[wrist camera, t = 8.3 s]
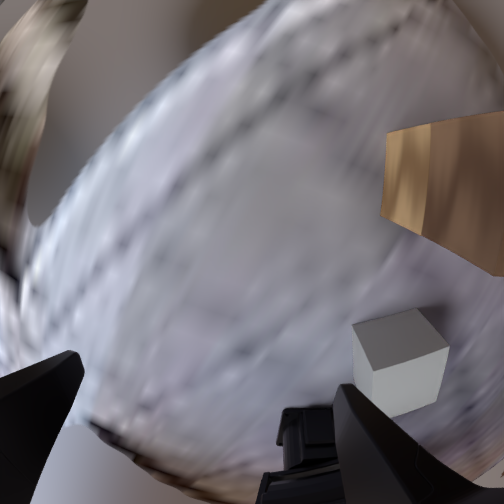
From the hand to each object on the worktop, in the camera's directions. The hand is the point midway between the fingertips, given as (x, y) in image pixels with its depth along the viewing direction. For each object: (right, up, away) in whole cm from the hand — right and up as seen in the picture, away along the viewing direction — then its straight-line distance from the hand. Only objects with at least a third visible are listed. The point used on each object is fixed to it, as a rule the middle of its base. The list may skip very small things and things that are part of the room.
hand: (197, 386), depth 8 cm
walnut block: (+14, +8, +4) cm, 16 cm away
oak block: (+14, +10, +9) cm, 19 cm away
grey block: (+13, -4, +14) cm, 19 cm away
